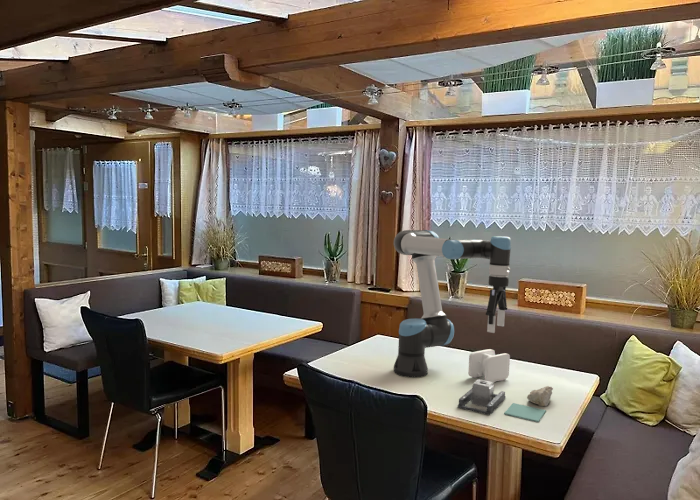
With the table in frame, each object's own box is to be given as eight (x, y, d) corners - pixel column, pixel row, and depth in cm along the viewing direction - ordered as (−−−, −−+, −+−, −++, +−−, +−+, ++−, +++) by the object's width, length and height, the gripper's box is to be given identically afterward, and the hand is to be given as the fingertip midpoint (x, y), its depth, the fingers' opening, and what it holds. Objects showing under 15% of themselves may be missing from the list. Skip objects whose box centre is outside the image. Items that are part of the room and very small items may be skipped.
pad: (504, 414, 190) (504, 412, 190) (512, 404, 201) (513, 402, 200) (538, 422, 184) (538, 420, 184) (545, 411, 194) (545, 410, 194)
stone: (525, 410, 205) (522, 391, 200) (538, 388, 212) (535, 370, 208) (545, 416, 200) (542, 397, 195) (557, 394, 207) (554, 375, 203)
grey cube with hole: (470, 403, 200) (472, 382, 199) (476, 398, 205) (477, 378, 204) (488, 407, 196) (489, 386, 196) (493, 402, 201) (494, 381, 201)
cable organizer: (485, 385, 221) (487, 358, 220) (466, 378, 230) (468, 351, 229) (509, 379, 230) (510, 353, 229) (490, 372, 238) (491, 347, 237)
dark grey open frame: (457, 407, 195) (457, 399, 195) (475, 392, 212) (475, 384, 212) (489, 415, 189) (490, 407, 189) (505, 398, 206) (505, 390, 206)
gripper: (499, 280, 194) (496, 336, 196) (516, 273, 215) (513, 324, 217) (479, 278, 198) (476, 333, 200) (498, 271, 219) (495, 322, 221)
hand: (495, 329), depth 209 cm, fingers open, 13 cm apart
